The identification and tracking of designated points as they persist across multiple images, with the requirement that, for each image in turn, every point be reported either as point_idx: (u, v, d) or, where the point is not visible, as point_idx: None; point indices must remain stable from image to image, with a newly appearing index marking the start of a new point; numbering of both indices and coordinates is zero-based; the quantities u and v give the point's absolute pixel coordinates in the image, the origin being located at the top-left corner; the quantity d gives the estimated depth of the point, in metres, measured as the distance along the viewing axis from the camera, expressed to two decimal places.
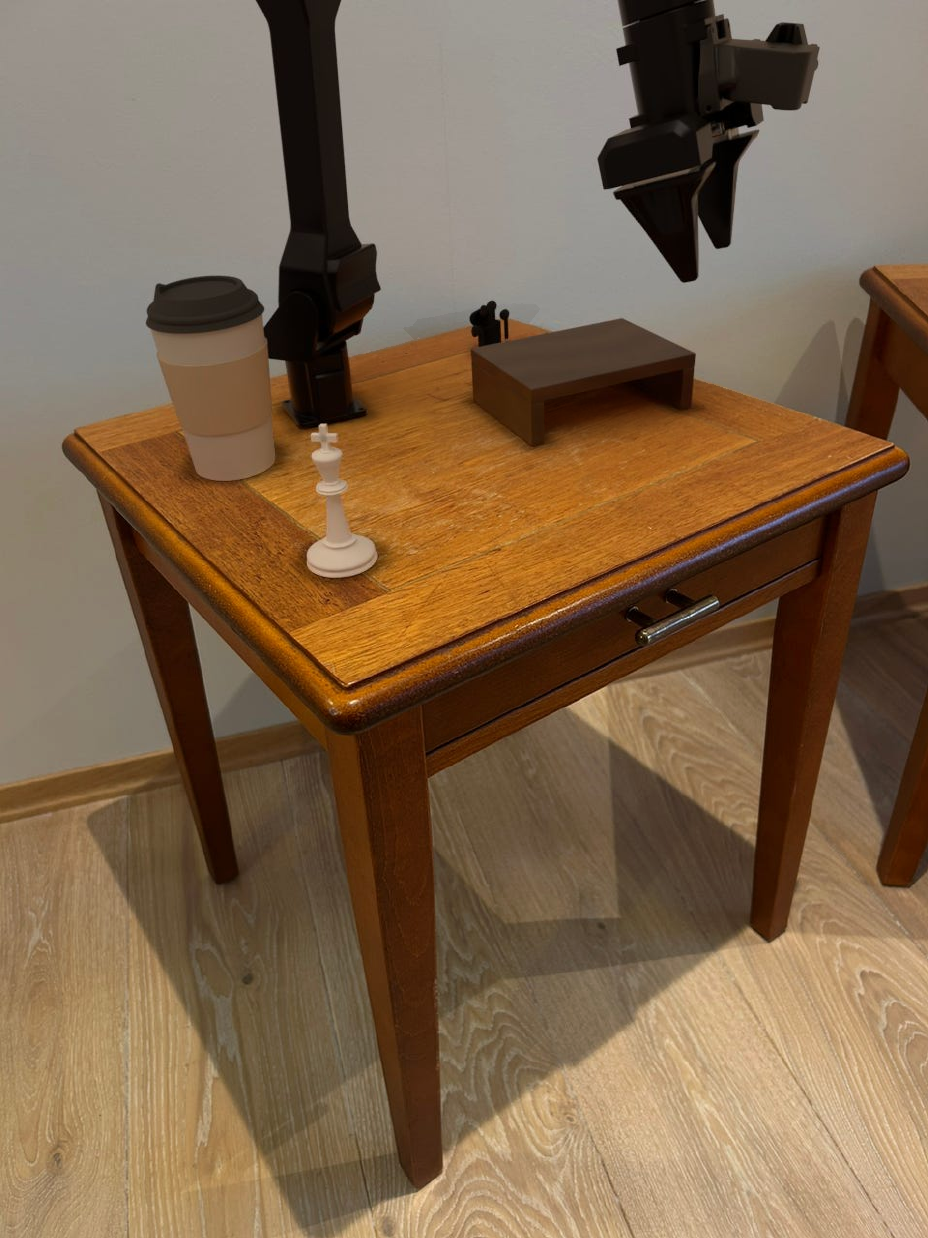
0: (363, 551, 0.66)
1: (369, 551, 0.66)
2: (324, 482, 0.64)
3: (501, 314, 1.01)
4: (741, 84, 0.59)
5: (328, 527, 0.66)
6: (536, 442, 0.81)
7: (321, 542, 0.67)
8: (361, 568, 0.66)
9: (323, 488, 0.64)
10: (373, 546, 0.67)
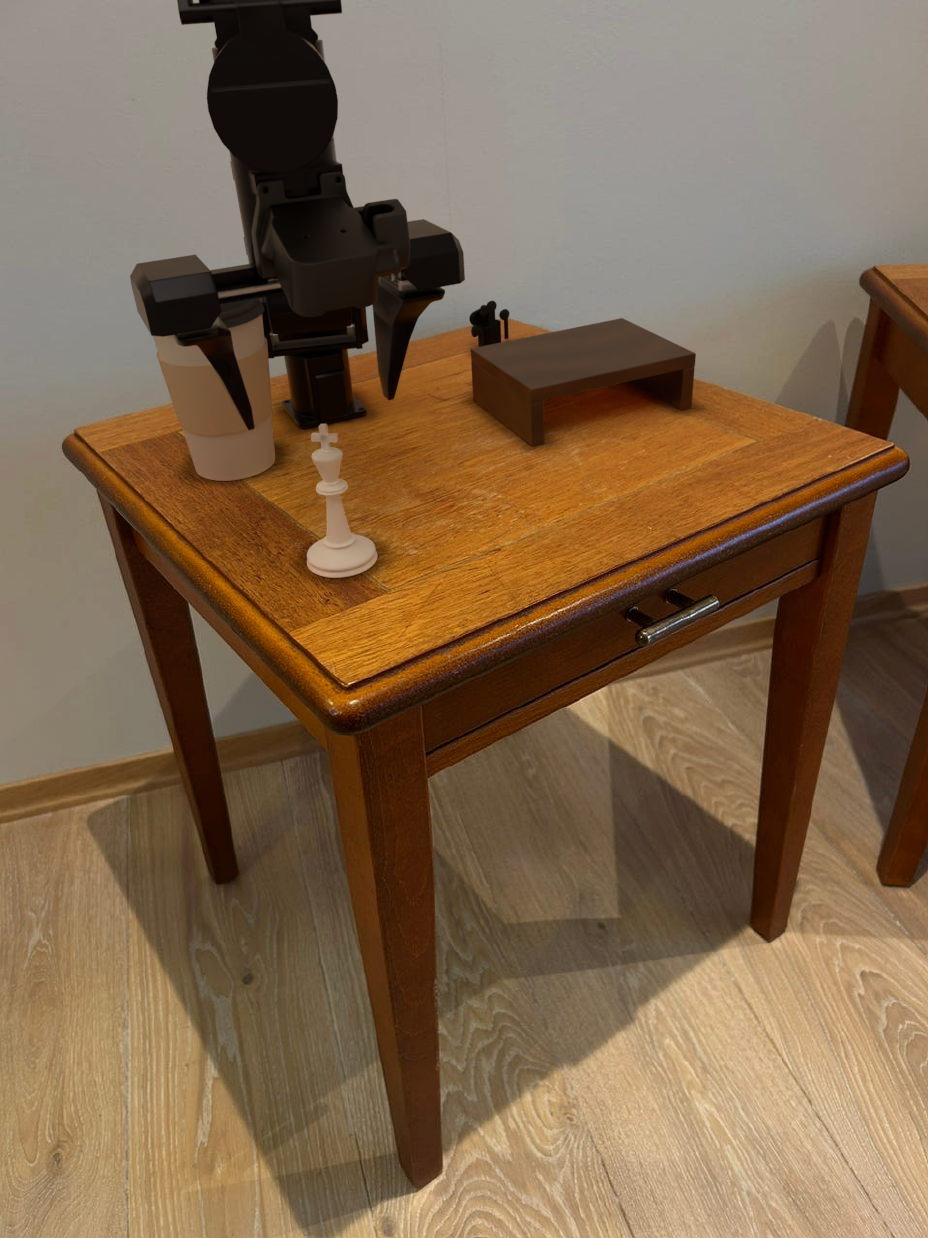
0: (363, 551, 0.66)
1: (369, 551, 0.66)
2: (324, 482, 0.64)
3: (501, 314, 1.01)
4: (274, 262, 0.51)
5: (328, 527, 0.66)
6: (536, 442, 0.81)
7: (321, 542, 0.67)
8: (361, 568, 0.66)
9: (323, 488, 0.64)
10: (373, 546, 0.67)
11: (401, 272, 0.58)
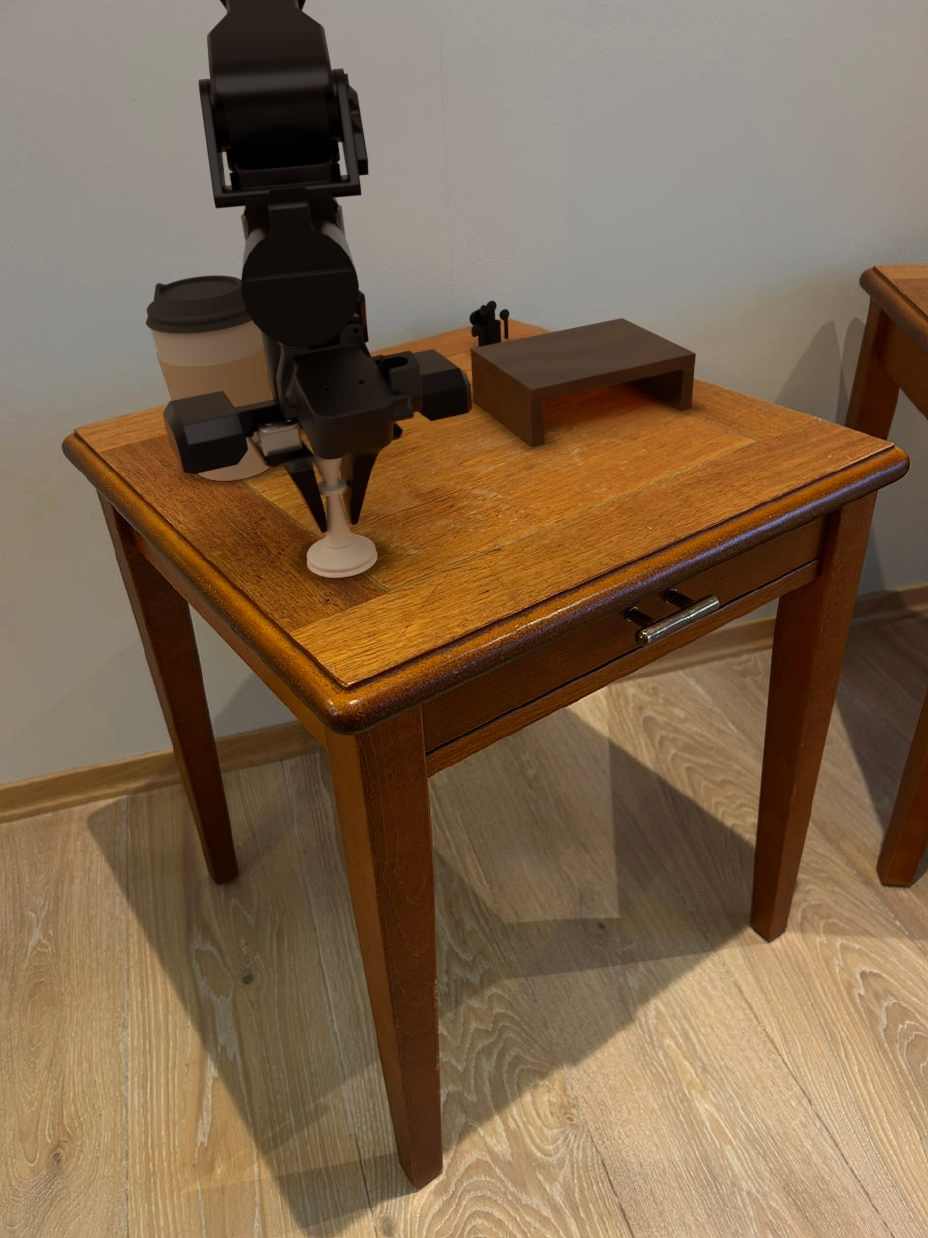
0: (363, 551, 0.66)
1: (369, 551, 0.66)
2: (324, 482, 0.64)
3: (501, 314, 1.01)
4: (297, 407, 0.56)
5: (328, 527, 0.66)
6: (536, 442, 0.81)
7: (321, 542, 0.67)
8: (361, 568, 0.66)
9: (323, 488, 0.64)
10: (373, 546, 0.67)
11: None
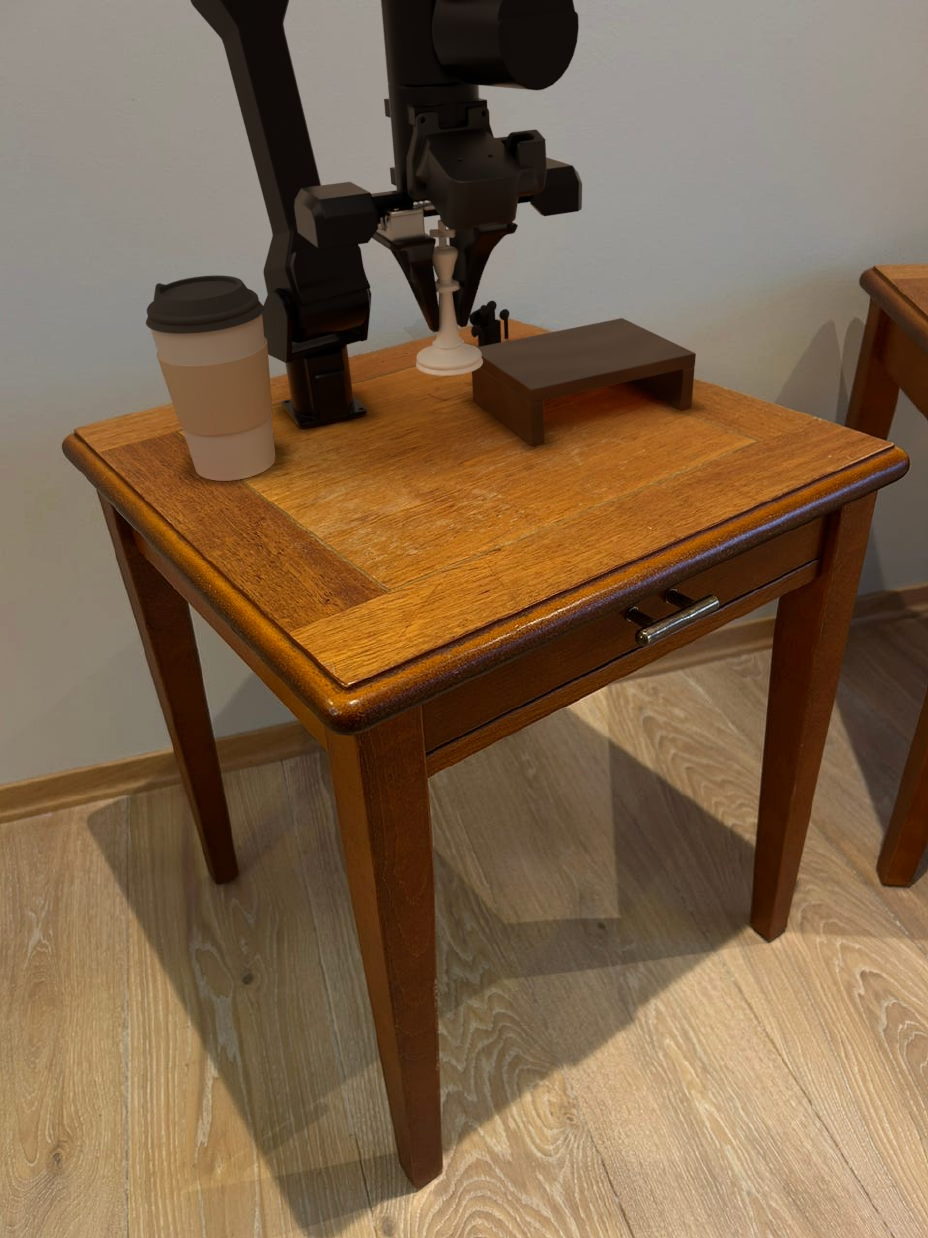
0: (471, 353, 0.70)
1: (476, 353, 0.70)
2: (439, 280, 0.67)
3: (501, 314, 1.01)
4: (428, 184, 0.59)
5: (439, 327, 0.69)
6: (536, 442, 0.81)
7: (430, 347, 0.71)
8: (469, 368, 0.69)
9: (438, 285, 0.67)
10: (479, 351, 0.71)
11: None
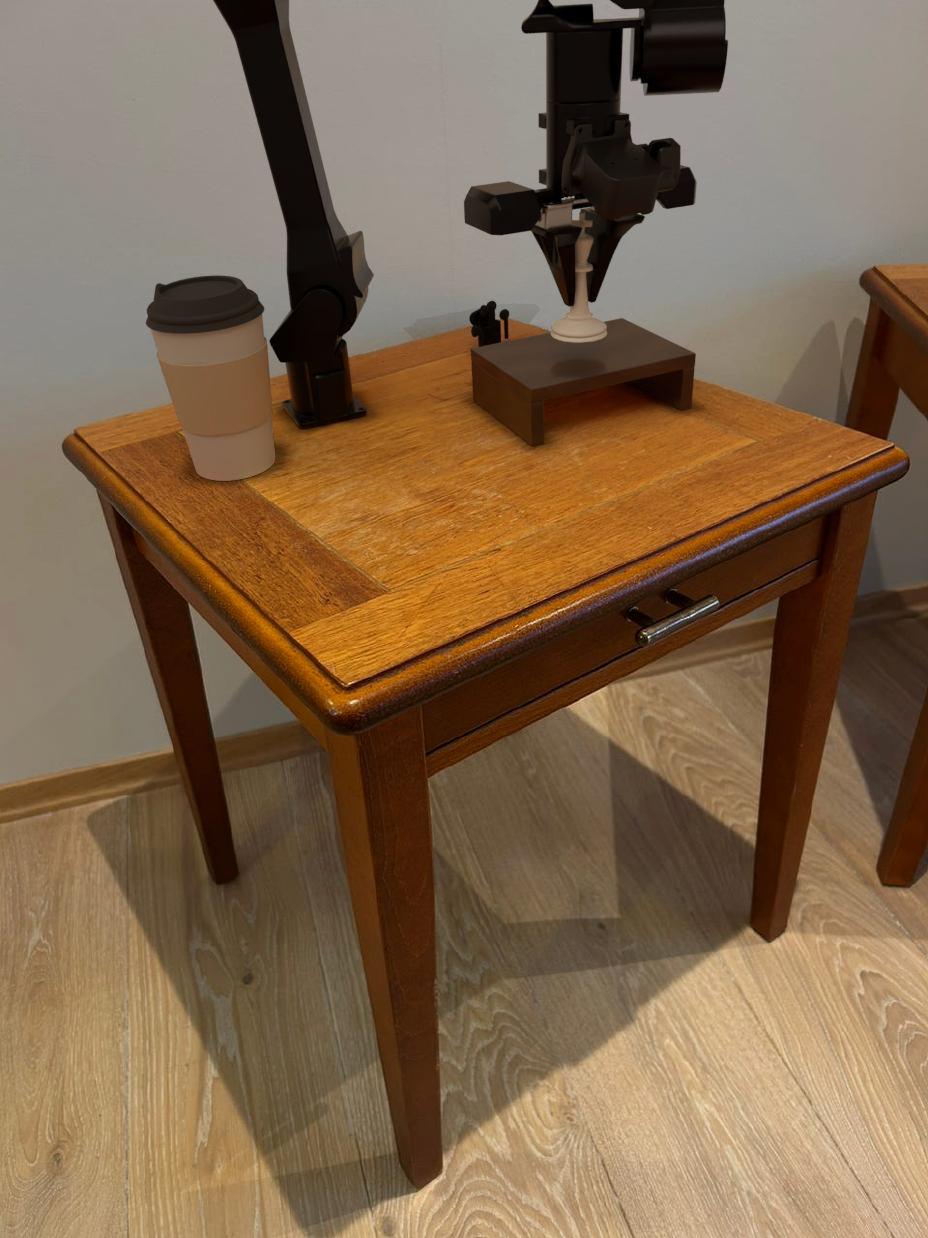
0: (598, 324, 0.83)
1: (603, 324, 0.84)
2: (576, 262, 0.81)
3: (501, 314, 1.01)
4: (583, 182, 0.73)
5: None
6: (536, 442, 0.81)
7: (562, 319, 0.85)
8: (598, 336, 0.83)
9: (576, 267, 0.81)
10: None
11: None
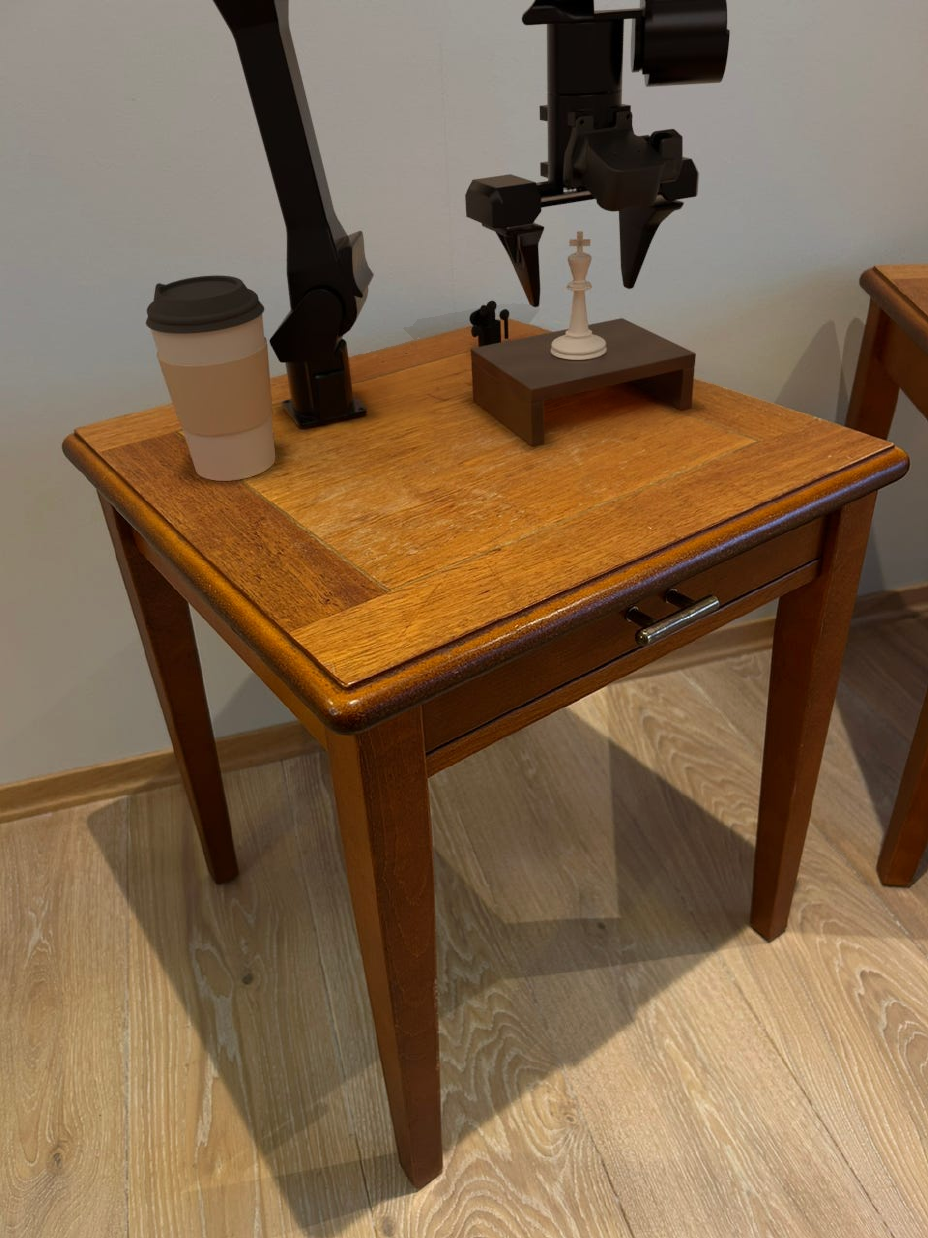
0: (598, 341, 0.84)
1: (602, 341, 0.85)
2: (575, 281, 0.82)
3: (501, 314, 1.01)
4: (585, 174, 0.73)
5: (573, 320, 0.84)
6: (536, 442, 0.81)
7: (562, 337, 0.85)
8: (598, 353, 0.84)
9: (575, 285, 0.82)
10: (603, 339, 0.85)
11: None
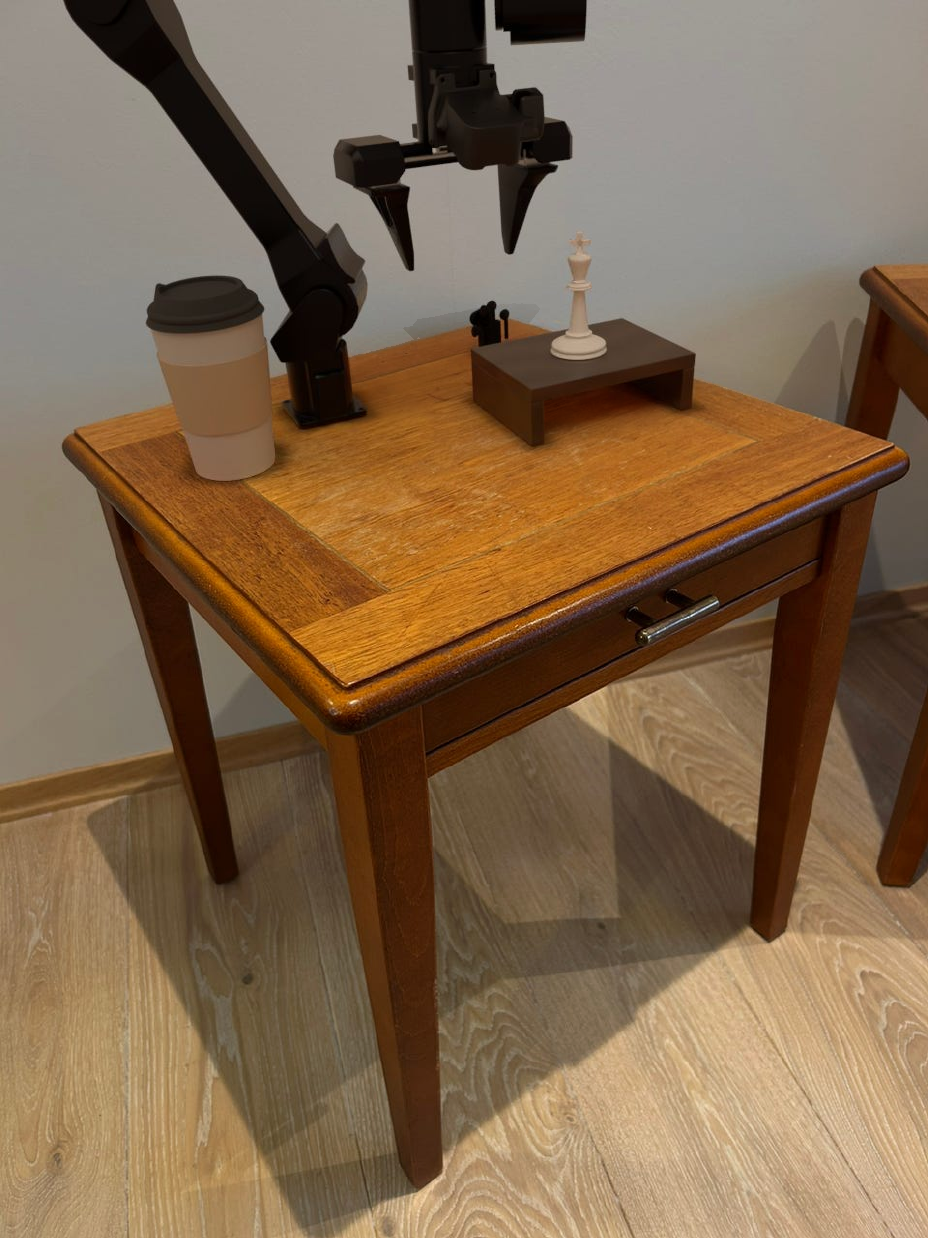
0: (598, 341, 0.84)
1: (602, 341, 0.85)
2: (575, 281, 0.82)
3: (501, 314, 1.01)
4: (447, 132, 0.72)
5: (573, 320, 0.84)
6: (536, 442, 0.81)
7: (562, 337, 0.85)
8: (598, 353, 0.84)
9: (575, 285, 0.82)
10: (603, 339, 0.85)
11: (526, 151, 0.79)
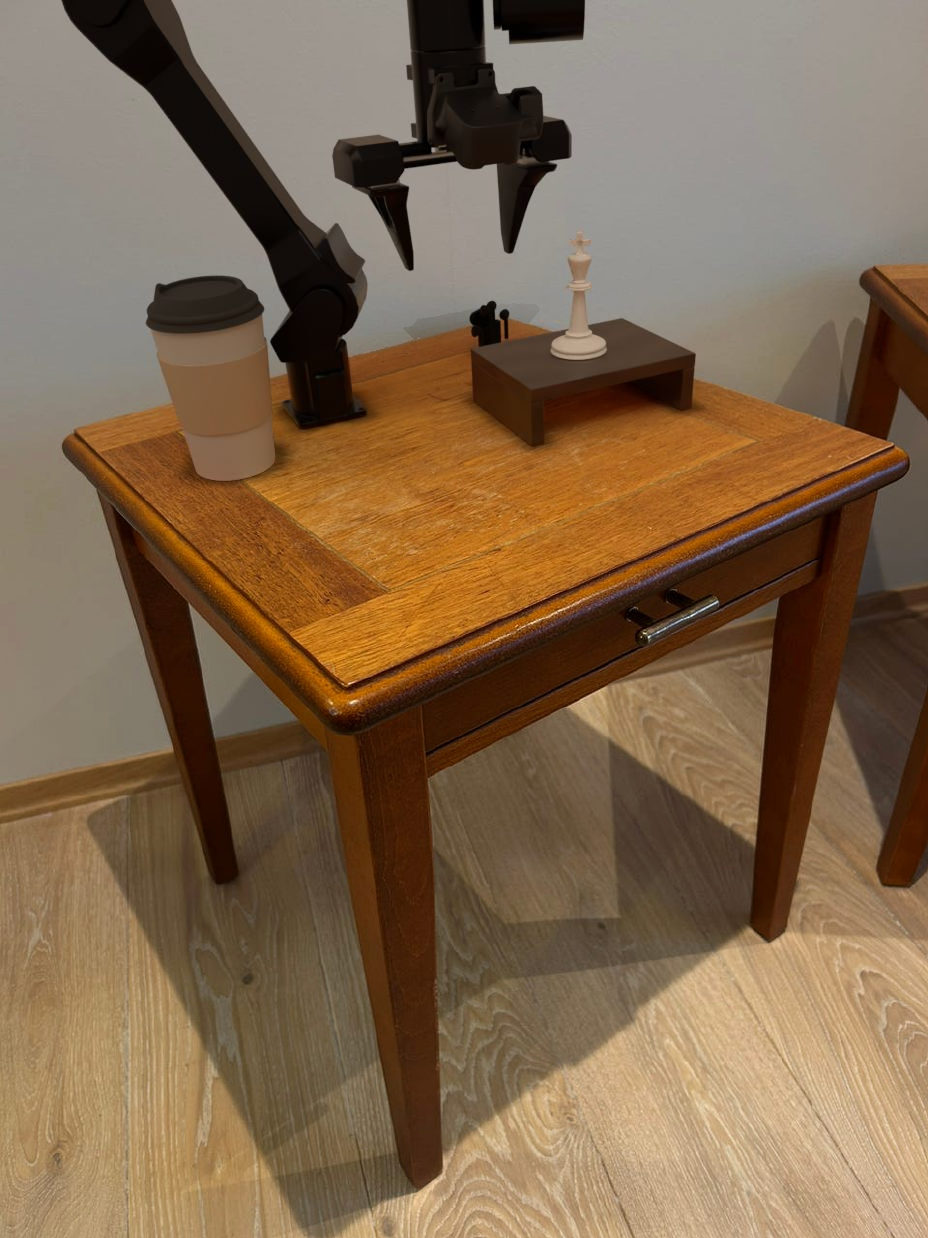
0: (598, 341, 0.84)
1: (602, 341, 0.85)
2: (575, 281, 0.82)
3: (501, 314, 1.01)
4: (446, 132, 0.72)
5: (573, 320, 0.84)
6: (536, 442, 0.81)
7: (562, 337, 0.85)
8: (598, 353, 0.84)
9: (575, 285, 0.82)
10: (603, 339, 0.85)
11: (525, 150, 0.79)
